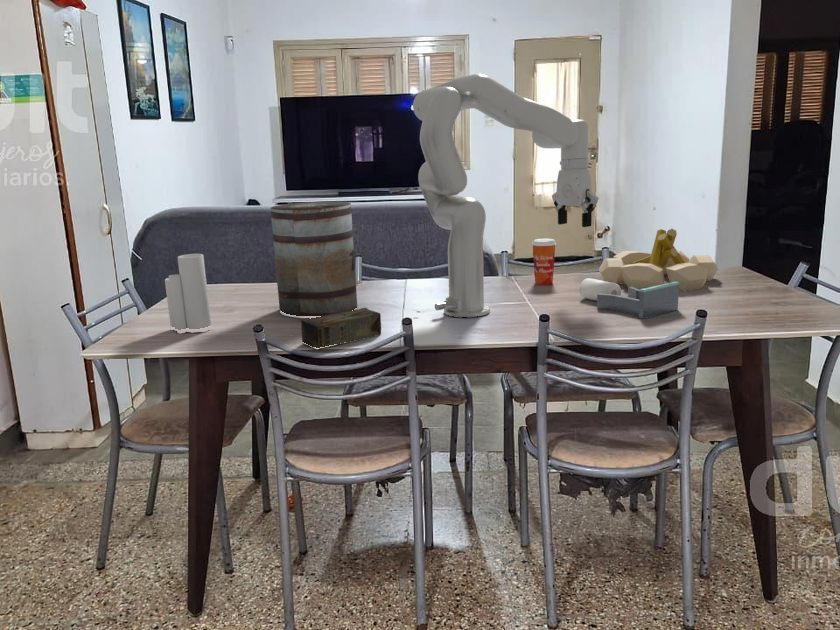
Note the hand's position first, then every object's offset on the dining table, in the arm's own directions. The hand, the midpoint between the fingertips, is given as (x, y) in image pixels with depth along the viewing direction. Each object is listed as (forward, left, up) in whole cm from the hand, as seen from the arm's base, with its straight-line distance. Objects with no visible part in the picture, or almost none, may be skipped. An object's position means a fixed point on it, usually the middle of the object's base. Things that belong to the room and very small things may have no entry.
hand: (574, 225), depth 209 cm
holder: (0, -23, -21) cm, 31 cm away
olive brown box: (-75, +4, -21) cm, 78 cm away
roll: (0, -10, -21) cm, 23 cm away
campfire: (+34, -3, -21) cm, 40 cm away
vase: (-102, +40, -21) cm, 112 cm away
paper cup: (+6, +19, -21) cm, 29 cm away
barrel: (-65, +38, -21) cm, 78 cm away
